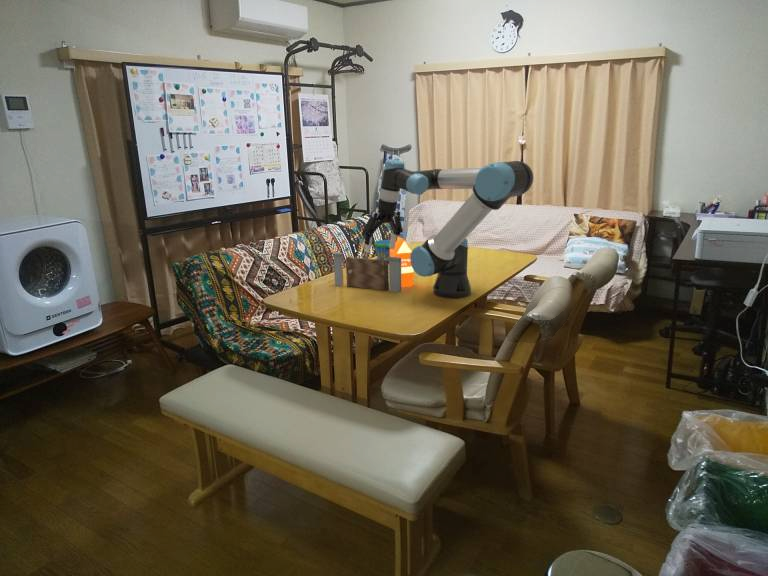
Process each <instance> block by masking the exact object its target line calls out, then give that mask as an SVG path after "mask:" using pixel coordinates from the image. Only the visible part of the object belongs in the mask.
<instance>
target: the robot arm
mask: <svg viewBox="0 0 768 576" xmlns="http://www.w3.org/2000/svg"><path fill="white" fill-rule="evenodd" d="M533 183H534V172H533V170H532V168H531V167H530V166H529V165H528V164H527V163H525V162H523V161H519V160H512V161H503V162H502V161H495V162H492V163H488V164H486V165H484V166H483V167H470V168H469V167H468V168H467V167H466V168H463V167H462V168H444V169H441V168H434V169H429V170H426V169H425V170H415V171H412V170H409V169H406V168H405V162H404V161H402V160H399V159H391V158H389V159H386V160H385V163H384V167H383V172H382V180H381V185H380V190H379V196H378V197H379V198H378V203H377V208H378V210H377V212H375V211H371V213H370V217H369V219H368V221H367V223H366V224H365V226H364V228H363V229H362V232H361V234H362V235H363V236H365V238H364V250H363V251H364V252H366V253H367V254H371V248H372V242H373V235H374V233H375V232H376V231H377V229H378V228H379V227H380V226H381V225H383V224H389V226H390V229H391V231H392V232H391V233H390V239H389V240H390V244H389V248H390V249H392V250H394V249H395V244H396V241H397V237H399V236H400V235H401V233H403V226H402V221H401V212H400V211H399V210H397V208H398V201H399V197H400V190H403V191H405V192H409V193H410V194H413V195H418V196H420V195H423V194H424V193H425V192H426V191H428V190H429V191H430V190H472V194H471V195H470V196H469V197H468V198H467V200H465V202H464V203H463V204H462V205H461V206H460V208H458V210H457V211H455V213H454V214H453V215H452V216H451V218H450V219H449V220H448V221H447V222H446V224H445V225H444V226H443V227H442V228H441V229H440V230H439V231H438V233H437V234H431V235H430V236H428V238H427V239H426V240H425V241H424V243H422V245H418V246H416V247H414V248H413V249H411V250H412V252H411V255H410V260H411V265H412V268H413V272H414V273H415V274H417V276H420V277H424V278H425V277H432V276H433V275H436V274H437V276H436V278H435V281H434V284H433V290H432V291H433V292H432V293H433V295H435V296H437V297H440V298H444V299H445V298H447V299H460V298H461V299H462V298H466V297H468V296H470V295H471V294H472V285H471V283H470V280H469V277H468V257H469V255H468V253H469V252H468V251H469V246H468V245H469V243H468V241H469V240H468V239H467V237H468V236H469V235H470V234H471V233H472V232H473V231H474V230H475V229H476V228H477V226H478V225H479V224H480V223H482V221H484V219H485V218H486V217H487V216H488V215H490V213H491V211H498V210H500V209H501V208H502V206H504V205H505V203H507V202H508V200H509V199H510V198H514V197H518V196H519V197H520V196H523V195H524V194H526V193H527V192H528V191H529V190H530V189H531V188H532V186H533Z"/></svg>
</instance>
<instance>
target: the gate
mask: <svg viewBox="0 0 768 576" xmlns="http://www.w3.org/2000/svg"><path fill="white" fill-rule="evenodd" d="M345 266H346V267H345V268H346V270H345V271H346V286H347V287H353V288H361V289H362V288H364V289H373V290H380V291H390V289H389V263H388V261H387V260H377V259H374V258H365V257H354V256H353V257H351V256H346V257H345Z"/></svg>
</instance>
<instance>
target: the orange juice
mask: <svg viewBox="0 0 768 576" xmlns="http://www.w3.org/2000/svg"><path fill="white" fill-rule="evenodd" d="M412 250H413V249H411V248H410V246H409V245H408V243H407V242H406V240H405V239H403V238H402V237H399V236H398V237H397V241H396V244H395V249H394V250H392V249H390V257H401V288H405V286H407V287H413V286H414V269H413V268H412V265H411V260H410V255H411V252H412ZM412 285H413V286H412Z"/></svg>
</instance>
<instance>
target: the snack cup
mask: <svg viewBox="0 0 768 576" xmlns="http://www.w3.org/2000/svg"><path fill="white" fill-rule="evenodd" d="M389 244H390V239H389V240H388V239H381V240H380V239H379V240H376V241H374V243H373V245H374V249H375V250H374V251H375V253H376V258H377V260H387V258H388V257H390V248H389ZM388 264H389V261H388Z"/></svg>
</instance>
